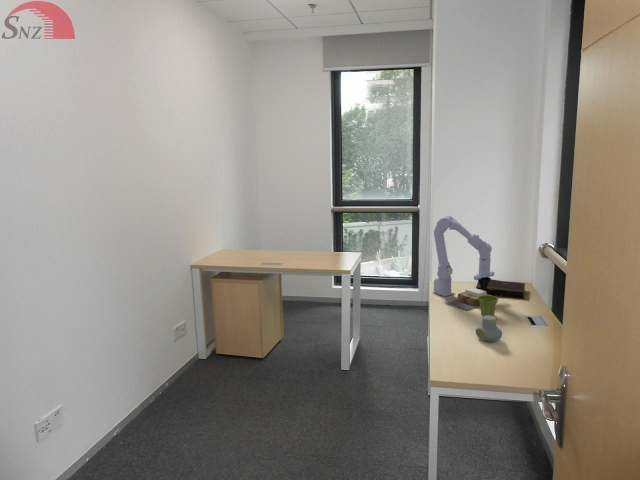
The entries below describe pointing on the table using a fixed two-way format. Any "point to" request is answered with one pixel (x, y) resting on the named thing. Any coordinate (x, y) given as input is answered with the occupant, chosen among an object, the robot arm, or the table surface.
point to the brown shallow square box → (469, 299)
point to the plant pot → (487, 304)
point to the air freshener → (489, 329)
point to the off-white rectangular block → (475, 292)
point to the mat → (461, 305)
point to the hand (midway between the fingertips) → (483, 290)
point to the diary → (504, 288)
